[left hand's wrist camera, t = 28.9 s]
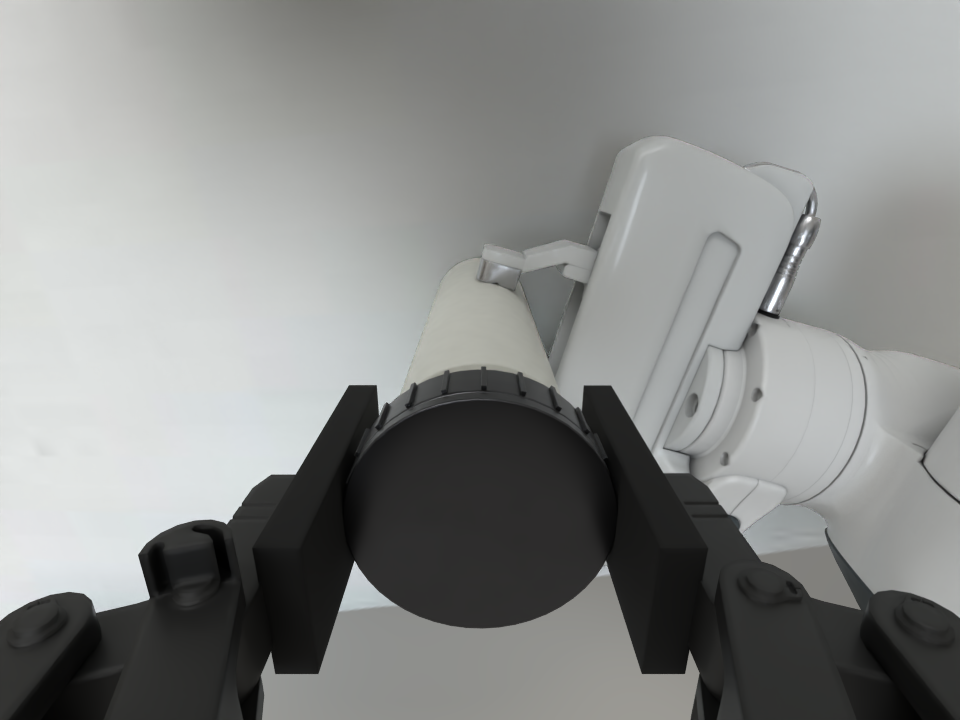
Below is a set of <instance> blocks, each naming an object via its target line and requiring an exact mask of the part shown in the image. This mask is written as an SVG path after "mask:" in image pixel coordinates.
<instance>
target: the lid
mask: <svg viewBox="0 0 960 720" xmlns="http://www.w3.org/2000/svg"><path fill="white" fill-rule="evenodd" d="M354 456H356V460H355V462H354V464H353V467H352V469H351V472H350V474H349V476H348V479H347V481H346V490H345V493H344V500H343V522H344V531H345V536H346V541H347V544H348V546H349V549H350V552H351V554H352V556H353V558H354V560H355V562H356V563H357V565H358V567H359V569H360V570H361V571H362V573H363V574H364V575H365V577H366V578H367V579H368V581H369V582H370V583H371V584H372V585H373V586H374V587H375V588H376V589H377V590H378V591H379V592H380V593H382V594H383V595H384V596H385V597H387V598H388V599H389V600H390V601H392V602H393V603H395V604H397V605H398V606H400V607H401V608H403V609H405V610H407V611H409V612H411V613H413V614H415V615H417V616H419V617H422V618H425V619H428V620H431V621H433V622H437V623H441V624H446V625H450V626H457V627H464V628H496V627H504V626H510V625H516V624H519V623H523V622H527V621H530V620H533V619H536V618H538V617H541V616H543V615H546V614H548V613H550V612H552V611H554V610H556V609H558V608H559V607H561V606H563V605H564V604H566V603H567V602H569V601H570V600H571V599H573V598H574V597H575V596H577V595H578V594H579V593H580V592H581V591H582V590H583V589H585V588H586V587H587V585H588V584H589V583H590V582H591V581H592V580H593V579H594V578H595V577H596V575H597V574H598V572H599V571H600V569H601V568H602V566H603V565H604V563H605V561H606V559H607V557H608V555H609V553H610V551H611V548H612V545H613V542H614V539H615V534H616V525H617V515H618V502H617V496H616V490H615V487H614V484H613V481H612V477H611V475H610V472H609V470H608V468H607V465H606V463H605V462H608V461H609V460H608V458H607V455H606V453H605V451H604V448H603V446H602V444H601V442H600V439H599V437H598V435H597V433H595V434H593V433H592V431H591V429H590V427H589V426H588V424H587V423H586V421H585V418H584V416H583V413H582V411H581V409H580V408H579V407H577V408H574V407H573V406H572V405H571V404H570V403H569V402H568V401H567V400H566V399H564V398H563V397H562V396H561V395H559V394H558V393H557V392H556V389H555V387H553V386H552V385H551V386H550V388H548V387H547V386H545V385H543V384H541V383H539V382H537V381H534V380H532V379H530V378H527V377H524V376H523V373H522V372H518V373H517V374H514V373H509V372H503V371H497V370H486V367H484V366H481V370H479V369H477V370H464V371H457V372H452V373H450V371H449V370H446V371H444V374H443V375H440V376H437V377H434V378H431V379H428V380H426V381H424V382H422V383H420V384H418V385H416V383H415V382H414V383H412V384H411V386H410V389H409V390H407V391H406V392H404V393H403V394H401V395H400V396H398V397H397V398H396V399H395V400H394V401H393V402H392V403H390V404H388V403H387V402H386V403H385V404H384V406H383V408H382V411H381V413H380V415H379V416H378V418H377V419H376V421H375V422H374V424H373V425H372V427H371V428H370V429H368V428H366V430H365V432H364V434H363V437H362V439H361V441H360V443H359V446H358V448H357V450H356V453H355V455H354Z"/></svg>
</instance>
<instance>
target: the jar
mask: <svg viewBox="0 0 960 720" xmlns="http://www.w3.org/2000/svg"><path fill="white" fill-rule="evenodd" d="M480 259H481V258H471V259H467V260H465V261H462V262H460V263H458V264H457V265H455V266H454V267H452V268H451V269H450V270H449V271H448V272H447V273H446V275H445V276H444V277H443V279H442V281H441V283H440V285H439V288H438V290H437V293H436V296H435V299H434V302H433V304H432V307H431V310H430V313H429V316H428V318H427V321H426V324H425V327H424V330H423V332H422V335H421V338H420V341H419V343H418V346H417V349H416V352H415V355H414V357H413V360H412V363H411V366H410V369H409V371H408V374H407V377H406V380H405V382H404V385H403V388H402V391H401V394H403V393H404V392H406V391H407V390H409V389H410V386H411V384H412V383H414V382H415V383H416V385H418V384H420V383H422V382H424V381H426V380H428V379H431V378H434V377H437V376H440V375H443V374H444V371H446V370H449V371H450V373H452V372H457V371H464V370H477V369H479V370H481V366H484V367H486V370H497V371H503V372H509V373H514V374H517V373H518V372H522V373H523V376H524V377H527V378H530V379H532V380H534V381H537V382H539V383H541V384H543V385H545V386H547V387H548V388H550V386H551V385H552V386H553V387H555V389H556V392H557V393H558V394H559V395H561V394H560V391H559V388H558V386H557V383H556V380H555V377H554V375H553V372H552V369H551V366H550V363H549V361H548V358H547V355H546V352H545V350H544V347H543V344H542V341H541V338H540V336H539V333H538V330H537V327H536V325H535V322H534V319H533V316H532V314H531V311H530V308H529V305H528V302H527V300H526V297H525V294H524V291H523V289H522V286H521V283H520V281H519V280H518V283H517V286H516V289H515V291H514V290H510V289H506V288H503V287H501V286H499V284H498V283H497V282H496V283H493V284H490V283H484V282H482V281H479V280H477V279H476V277H477V276H476V275H477V271H478V267H479V263H480ZM401 394H400V395H401Z"/></svg>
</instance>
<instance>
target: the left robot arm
mask: <svg viewBox="0 0 960 720" xmlns="http://www.w3.org/2000/svg"><path fill="white" fill-rule="evenodd" d="M582 413H583V416H584V418H585V421H586V423H587V424H588V426H589V427H590V429H591V431H592V433H593V434H595V433H597V435H598V437H599V439H600V442H601V444H602V446H603V448H604V451H605V453H606V455H607V458H608V460H609V461H608V462H605V463H606V465H607V468H608V470H609V472H610V475H611V477H612V481H613V484H614V487H615V490H616V496H617V502H618V515H617V525H616V534H615V539H614V542H613V545H612V548H611V551H610V553H609V555H608V557H607V559H606V562H607V566H608V569H609V572H610V575H611V578H612V581H613V584H614V587H615V591H616V594H617V597H618V600H619V603H620V606H621V610H622V613H623V616H624V619H625V622H626V625H627V628H628V632H629V635H630V638H631V641H632V644H633V647H634V650H635V654H636V657H637V660H638V663H639V666H640V669H641V672H642V674H685V671H686V665H687V660H688V655H689V649H690V651H691V654H692V656H693V658H694V661H695V663H696V665H697V668H698V670H699V672H700V674H699V679H698V684H697V689H696V694H695V699H694V704H693V709H692V714H691V720H960V618H959V617H958V616H957V615H956V614H954V613H953V612H952V611H950V610H948V609H946V608H944V607H943V606H941V605H939V604H937V603H935V602H934V601H932V600H929V599H926V598H924V597H921V596H918V595H915V594H912V593H908V592H902V591H896V590H887V591H879V592H877V593H875V594H874V595H873V596H872V597H870V598H869V601H868V604H867V607H866V610H865V611H862V610H858V609H854V608H849V607H845V606H841V605H836V604H832V603H828V602H824V601H820V600H817V599H814V598H811V597H810V596H809V595H808V593H807V591H806V590H805V588H804V587H803V585H802V584H801V583H800V582H798V581H797V580H796V579H795V578H794V577H792V576H791V575H790V574H789V573H787V572H785V571H783V570H781V569H779V568H777V567H776V566H774V565H771V564H768V563H764V562H761V560H760V559H759V558H758V556H757V555H756V553H755V552H754V551H753V549H752V548H751V546H750V545H749V544H748V542H747V541H746V539H745V538H744V537H743V535H742V534H741V532H740V531H739V530H738V528H737V527H736V525H735V524H734V522H733V521H732V520H731V518H728V514H727V513H726V511H725V510H724V508H723V507H722V506H721V505H719V501H718V500H717V499H716V497H715V496H714V494H713V493H712V492H711V490H710V489H709V487H708V486H707V485H705V484H704V483H702V482H701V481H700V480H698V479H697V478H695V477H694V476H693V475H691V474H690V473H663V471H662V470H661V468H660V466H659V465H658V463H657V461H656V460H655V458H654V456H653V455H652V453H651V451H650V450H649V448H648V446H647V445H646V443H645V441H644V440H643V438H642V436H641V434H640V433H639V431H638V429H637V428H636V426H635V424H634V423H633V421H632V419H631V418H630V416H629V414H628V413H627V411H626V409H625V408H624V406H623V404H622V403H621V401H620V399H619V398H618V396H617V394H616V393H615V391H614V389H613V388H612V386H611V385H584V388H583V401H582ZM378 416H379V410H378V397H377V385H349V386H348V388H347V390H346V391H345V393H344V395H343V396H342V398H341V400H340V402H339V403H338V405H337V407H336V408H335V410H334V412H333V413H332V415H331V417H330V418H329V420H328V422H327V423H326V425H325V427H324V428H323V430H322V432H321V433H320V435H319V437H318V438H317V440H316V442H315V443H314V445H313V447H312V448H311V450H310V452H309V453H308V455H307V457H306V458H305V460H304V462H303V464H302V465H301V467H300V469H299V470H298V472H297V474H296V475H270V476H269V477H267V478H266V479H265V480H263V481H262V482H260V483H259V484H258V485H256V486H255V487H253V488H252V490H251V491H250V493H249V494H248V495H247V497H246V498H245V500H244V501H243V503H242V506H241V507H239V508H238V510H237V511H236V512H235V514H234V515H233V519H232V520H230V521H229V522H228V524H227V525H226V524H225V523H224V522H219V521H215V520H196V521H192V522H188V523H184V524H180V525H177V526H175V527H173V528H171V529H168V530H166V531H164V532H162V533H160V534H159V535H157V536H156V537H155V538H153V539H152V540H151V541H149V542H148V543H147V544H146V545H145V546H144V548H143V549H142V550H141V552H140V553H139V554H138V556H139V560H140V564H141V567H142V571H143V574H144V578H145V581H146V585H147V589H148V592H149V596H150V599H149V600H147V601H144V602H140V603H137V604H133V605H129V606H124V607H120V608H116V609H112V610H107V611H103V612H99V613H96V612H95V609H94V606H93V603H92V600H91V599H89V598H88V597H87V596H86V595H84V594H81V593H73V592H66V593H60V594H54V595H49V596H46V597H44V598H41V599H38V600H35V601H33V602H30V603H28V604H26V605H24V606H23V607H21V608H19V609H17V610H15V611H14V612H12V613H10V614H8V615H7V616H6V617H5V618H3V619H2V620H1V621H0V720H262V712H263V702H264V691H263V685H262V680H261V673H262V671H263V669H264V666H265V664H266V662H267V659H268V657H269V655H270V652H271V653H272V658H273V664H274V669H275V674H318V673H319V670H320V667H321V664H322V661H323V658H324V655H325V651H326V648H327V645H328V642H329V639H330V636H331V633H332V629H333V626H334V623H335V620H336V617H337V614H338V611H339V607H340V604H341V601H342V598H343V595H344V592H345V589H346V585H347V582H348V579H349V576H350V573H351V570H352V567H353V563H354V558H353V556H352V554H351V552H350V549H349V546H348V544H347V541H346V536H345V531H344V522H343V500H344V493H345V490H346V481H347V479H348V476H349V474H350V472H351V469H352V467H353V464H354V462H355V460H356V456H354V455H355V453H356V450H357V448H358V446H359V443H360V441H361V439H362V437H363V434H364V432H365V430H366V428H368V429H370V428H371V427H372V425H373V424H374V422H375V421H376V419H377V418H378Z"/></svg>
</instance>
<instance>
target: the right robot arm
mask: <svg viewBox="0 0 960 720" xmlns="http://www.w3.org/2000/svg"><path fill="white" fill-rule="evenodd" d="M817 204H818V202H817V193H816V191H815V188H814V186H813V183H812V181H811V180H810V179H809V178H807V177H806V176H805V175H803V174H802V173H800V172H798V171H795V170H792V169H788V168H785V167H782V166H779V165H775V164H772V163H768V162H756V163H752V164H749V165H746V166H744V167H741V166H739V165H737V164H735V163H733V162H731V161H729V160H727V159H725V158H723V157H721V156H718V155H716V154H714V153H712V152H709V151H707V150H705V149H702V148H700V147H697V146H695V145H692V144H689V143H687V142H684V141H681V140H678V139H675V138H672V137H668V136H649V137H646V138H643V139H640V140H638V141H636V142H634V143H632V144H630V145H629V146H627V147H625V148H623V149H622V150H621V151H620V152H619V153H618V155H617V157H616V160H615V163H614V165H613V168H612V171H611V174H610V177H609V180H608V183H607V186H606V189H605V192H604V195H603V198H602V201H601V204H600V207H599V210H598V213H597V216H596V219H595V222H594V225H593V228H592V231H591V234H590V237H589V239H588V242H587V245H583V244H579V243H575V242H572V241H568V240H565V239H563V240H559V241H556V242H552V243H548V244H545V245H541V246H537V247H534V248H530V249H526V250H523V252H522V253H520V252H517V251H513V250H509V249H506V248H502V247H499V246H495V245H490V244H484V248H483V252H482V255H481V259H480V263H479V267H478V271H477V275H476V276H477V277H476V279H477V280H479V281H482V282H484V283H490V284H493V283H496V282H497V283H498V284H499V286H501V287H503V288H506V289H510V290H514V291H515V289H516V286H517V283H518V280H519V277H520V274H523V273H527V272H531V271H535V270H539V269H543V268H547V267H551V266H556V267H557V269H558V270H559V271H560V273H561V274H562V275H563V276H564V277H565V278H569V279H572V280H575V281H574V284H573V287H572V290H571V293H570V296H569V299H568V302H567V305H566V308H565V311H564V314H563V317H562V320H561V322H560V325H559V328H558V331H557V334H556V337H555V340H554V343H553V346H552V349H551V352H550V355H549V358H548V361H549V363H550V366H551V369H552V372H553V375H554V377H555V380H556V383H557V386H558V388H559V391H560V394H561V396H562V397H563V398H564V399H566V400H567V401H568V402H569V403H570V404H571V405H572V406H573V407H574V408H577V407H579V408H580V409H581V411H582V401H583V388H584V385H611V386H612V388H613V389H614V391H615V393H616V394H617V396H618V398H619V399H620V401H621V403H622V404H623V406H624V408H625V409H626V411H627V413H628V414H629V416H630V418H631V419H632V421H633V423H634V424H635V426H636V428H637V429H638V431H639V433H640V434H641V436H642V438H643V440H644V441H645V443H646V445H647V446H648V448H649V450H650V451H651V453H652V455H653V456H654V458H655V460H656V461H657V463H658V465H659V466H660V468H661V470H662V471H663V473H690V474H691V475H693V476H694V477H695V478H697V479H698V480H700V481H701V482H702V483H704V484H705V485H707V486H708V487H709V489H710V490H711V492H712V493H713V494H714V496H715V497H716V499H717V500H718V501H719V505H721V506H722V507H723V508H724V510H725V511H726V513H727V514H728V518H731V520H732V521H733V522H734V524H735V525H736V527H737V528H738V530H739V531H740V532H741V534H742V533H743V532H744V531H745V530H747V529H748V528H749V527H750V526H752V525H753V524H754V523H755V522H757V521H758V520H759V519H761V518H762V517H764V516H765V515H766V514H768V513H769V512H771V511H772V510H773V509H775V508H776V507H777V506H778V505H779V504H780V505H797V506H804V507H807V508H810V509H811V510H813V511H815V512H816V513H818V514H819V515H820V516H821V517H823V518H824V519H825V521H826V523H827V525H828V528H826V529H825V534H826V538H827V541H828V544H829V546H830V549H831V551H832V553H833V555H834V558H835V560H836V562H837V564H838V566H839V568H840V569H841V571H842V573H843V575H844V577H845V579H846V581H847V583H848V585H849V587H850V589H851V591H852V593H853V595H854V597H855V599H856V601H857V603H858V605H859V607H860V609H861V610H862V611H865V610H866V607H867V604H868V601H869V598H870V597H872V596H873V595H874V594H875V593H877V592H879V591H887V590H896V591H902V592H908V593H912V594H915V595H918V596H921V597H924V598H926V599H929V600H932V601H934V602H935V603H937V604H939V605H941V606H943V607H944V608H946V609H948V610H950V611H952V612H953V613H954V614H956V615H957V616H958V617H959V618H960V369H959V368H957V367H954V366H950V365H947V364H944V363H941V362H938V361H935V360H931V359H928V358H925V357H921V356H918V355H914V354H910V353H906V352H900V351H890V350H879V351H869V350H865V349H863V348H861V347H860V346H858V345H857V344H856V343H854V342H853V341H851V340H849V339H848V338H846V337H844V336H842V335H840V334H837V333H835V332H831V331H828V330H825V329H821V328H818V327H814V326H810V325H807V324H803V323H800V322H796V321H792V320H789V319H785V318H782V317H779V316H778V315H779V313H780V311H781V309H782V307H783V305H784V303H785V301H786V299H787V297H788V295H789V292H790V290H791V288H792V286H793V284H794V281H795V279H796V278H795V277H796V275H797V270H798V269H799V267H800V266H799V265H800V264H801V262H802V258H803V257H804V255H805V253H806V251H807V250H808V249H810V247H811V246H812V244H813V242H814V240H815V238H816V236H817V234H818V231H819V227H820V223H821V219H820V218H817V217H815V215H816V211H817ZM805 206H806V211H805V214H802V213H803V210H804V208H805ZM603 566H607V562H606V561H605V563H604V565H603Z"/></svg>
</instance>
